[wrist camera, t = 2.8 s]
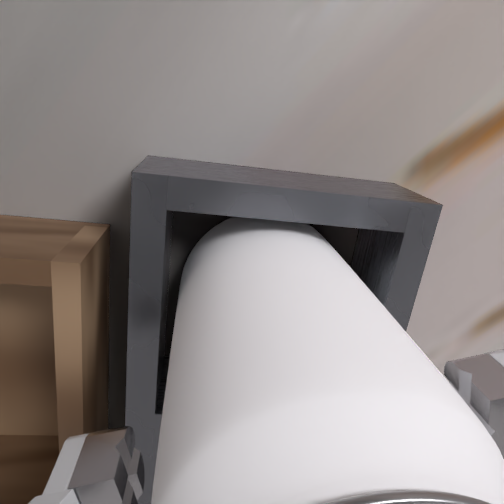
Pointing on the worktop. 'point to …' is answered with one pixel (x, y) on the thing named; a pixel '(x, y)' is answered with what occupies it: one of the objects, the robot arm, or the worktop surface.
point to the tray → (259, 207)
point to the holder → (50, 345)
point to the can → (306, 386)
